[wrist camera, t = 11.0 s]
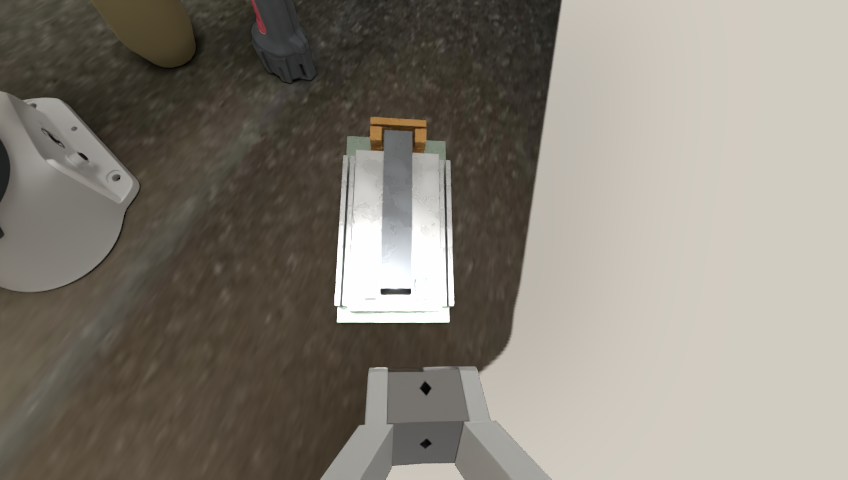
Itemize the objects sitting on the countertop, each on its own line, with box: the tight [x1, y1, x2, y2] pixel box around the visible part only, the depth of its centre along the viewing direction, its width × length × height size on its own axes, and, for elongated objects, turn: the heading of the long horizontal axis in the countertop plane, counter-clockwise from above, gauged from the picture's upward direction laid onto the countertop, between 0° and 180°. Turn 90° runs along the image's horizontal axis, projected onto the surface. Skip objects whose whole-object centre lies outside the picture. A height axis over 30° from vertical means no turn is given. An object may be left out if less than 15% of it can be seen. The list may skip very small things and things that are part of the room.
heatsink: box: [335, 117, 454, 323], centre depth 38 cm, size 22×12×8 cm, turn 0°
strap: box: [380, 130, 412, 294], centre depth 36 cm, size 18×3×1 cm, turn 0°
